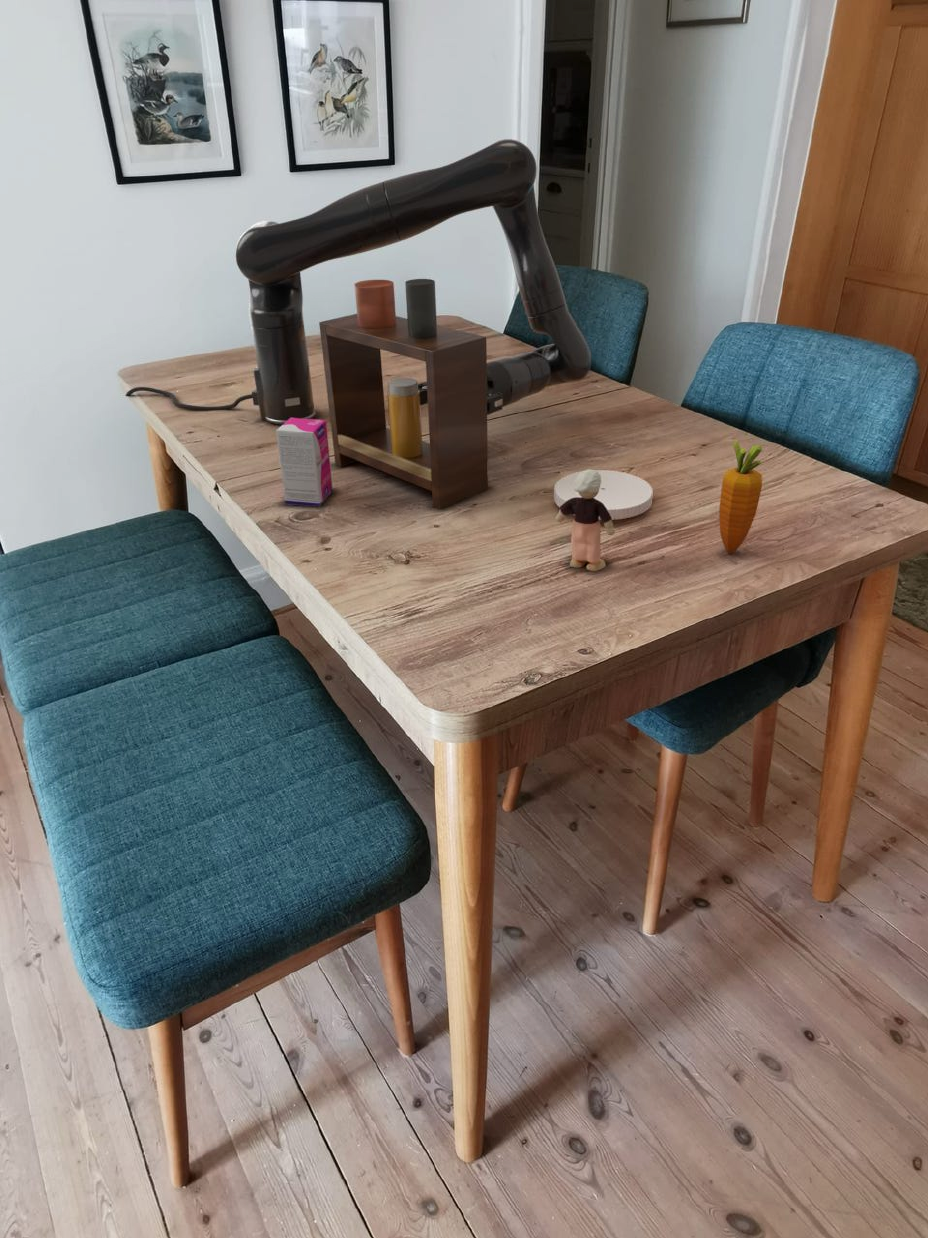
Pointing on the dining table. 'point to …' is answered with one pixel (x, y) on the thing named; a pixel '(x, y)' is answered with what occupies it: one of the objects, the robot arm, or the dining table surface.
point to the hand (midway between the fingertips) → (425, 407)
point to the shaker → (405, 417)
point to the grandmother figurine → (587, 521)
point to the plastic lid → (611, 493)
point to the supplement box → (304, 461)
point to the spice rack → (452, 390)
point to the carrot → (739, 498)
